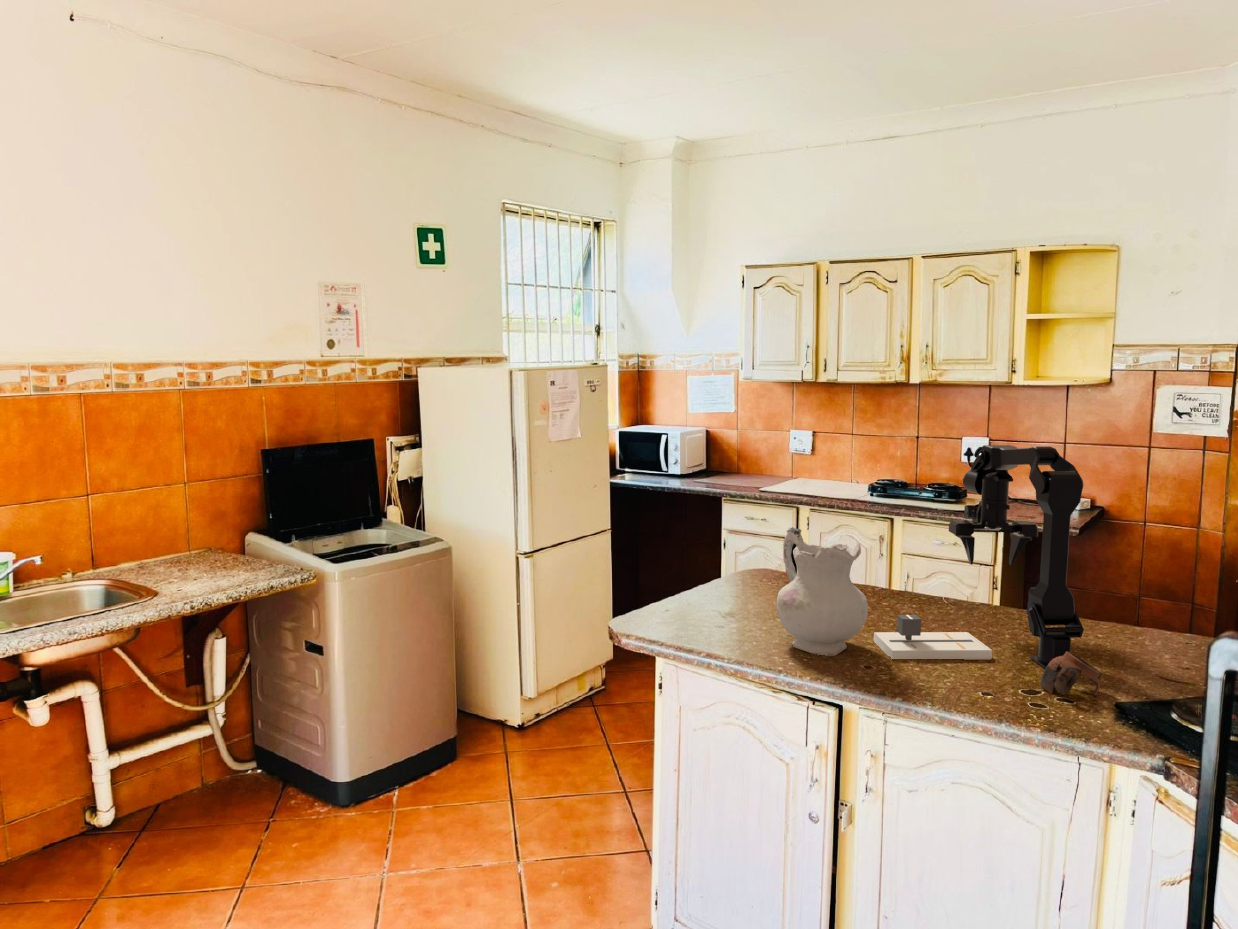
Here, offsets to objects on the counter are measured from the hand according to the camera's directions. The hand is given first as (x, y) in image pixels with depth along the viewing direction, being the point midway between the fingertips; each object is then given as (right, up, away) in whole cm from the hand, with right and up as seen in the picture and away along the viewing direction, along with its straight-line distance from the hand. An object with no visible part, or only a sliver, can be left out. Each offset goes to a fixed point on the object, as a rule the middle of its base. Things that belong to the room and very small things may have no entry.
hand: (990, 564), depth 206 cm
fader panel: (-20, -16, -17) cm, 31 cm away
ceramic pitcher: (-44, -16, -14) cm, 49 cm away
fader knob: (-25, -14, -17) cm, 34 cm away
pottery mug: (-2, -20, -40) cm, 45 cm away
